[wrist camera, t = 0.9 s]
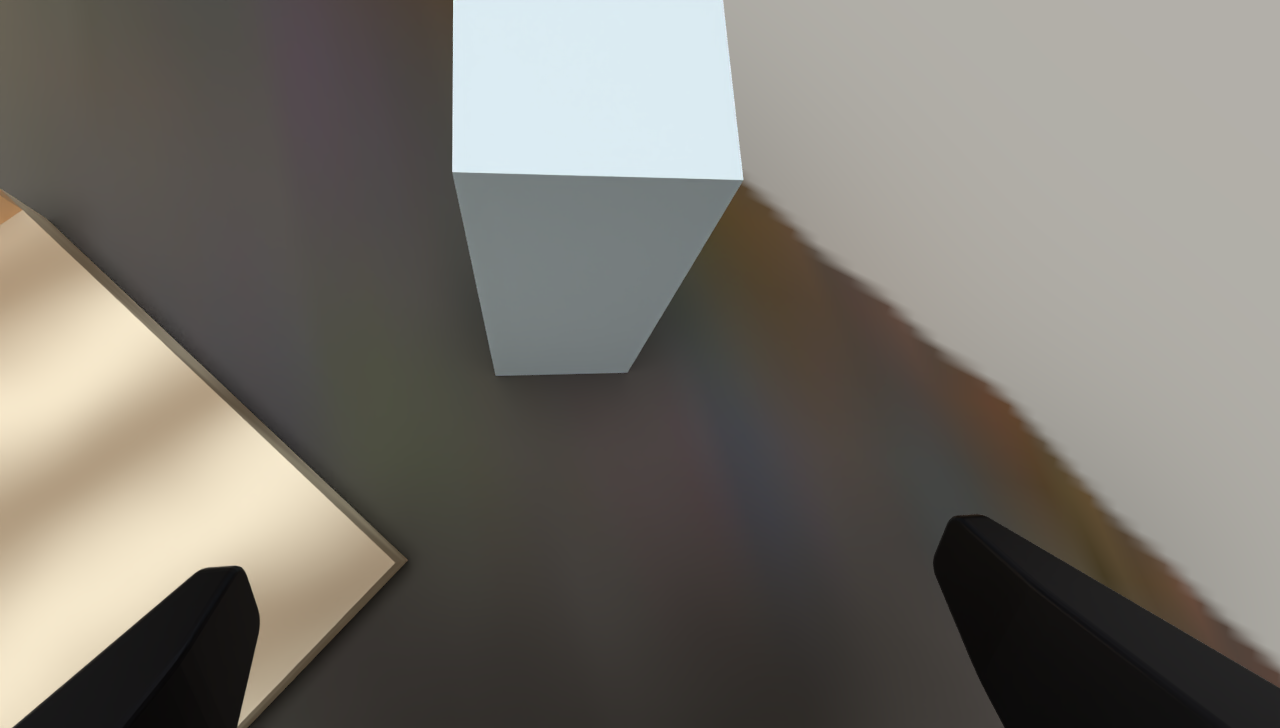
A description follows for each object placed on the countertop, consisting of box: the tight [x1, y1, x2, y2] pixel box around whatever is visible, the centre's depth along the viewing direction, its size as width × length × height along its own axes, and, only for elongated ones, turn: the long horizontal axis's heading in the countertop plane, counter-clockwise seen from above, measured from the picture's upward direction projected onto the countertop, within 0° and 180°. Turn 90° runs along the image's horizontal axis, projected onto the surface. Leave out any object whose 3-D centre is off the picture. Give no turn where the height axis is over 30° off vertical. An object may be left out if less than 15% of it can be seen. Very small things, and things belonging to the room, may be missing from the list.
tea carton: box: [452, 0, 743, 376], centre depth 17 cm, size 4×4×13 cm
